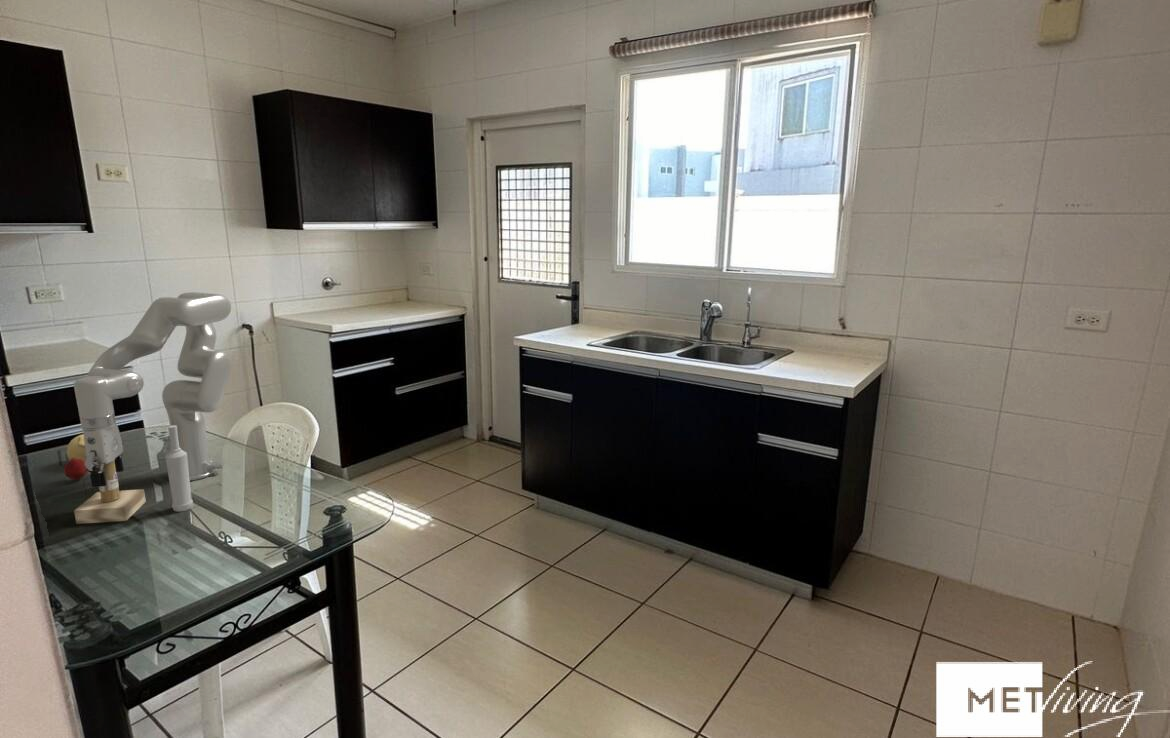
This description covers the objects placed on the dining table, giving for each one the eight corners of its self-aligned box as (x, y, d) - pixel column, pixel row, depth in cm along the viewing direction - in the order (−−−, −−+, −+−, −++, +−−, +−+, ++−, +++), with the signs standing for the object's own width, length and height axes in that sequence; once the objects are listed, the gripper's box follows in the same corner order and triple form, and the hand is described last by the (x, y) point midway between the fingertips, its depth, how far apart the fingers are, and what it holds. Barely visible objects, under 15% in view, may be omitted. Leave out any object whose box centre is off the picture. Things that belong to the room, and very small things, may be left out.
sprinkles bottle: (120, 500, 175) (113, 455, 172) (99, 503, 172) (92, 458, 169) (121, 494, 179) (114, 450, 176) (101, 497, 176) (94, 453, 173)
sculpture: (96, 470, 204) (91, 439, 202) (60, 468, 204) (54, 438, 202) (122, 457, 215) (117, 427, 213) (88, 456, 215) (83, 426, 213)
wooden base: (145, 501, 183) (144, 489, 182) (126, 520, 172) (124, 507, 171) (99, 504, 181) (97, 491, 180) (76, 524, 169) (74, 510, 168)
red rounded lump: (79, 484, 193) (75, 460, 191) (61, 483, 193) (56, 459, 192) (94, 476, 199) (90, 453, 197) (76, 476, 199) (72, 452, 197)
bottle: (197, 506, 182) (187, 425, 176) (180, 513, 177) (168, 430, 171) (186, 502, 184) (175, 422, 178) (168, 509, 179) (157, 427, 173)
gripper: (97, 431, 163) (108, 491, 167) (128, 410, 179) (137, 465, 183) (64, 432, 161) (76, 493, 165) (99, 411, 177) (108, 467, 182)
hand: (108, 478), depth 174 cm, fingers open, 9 cm apart
